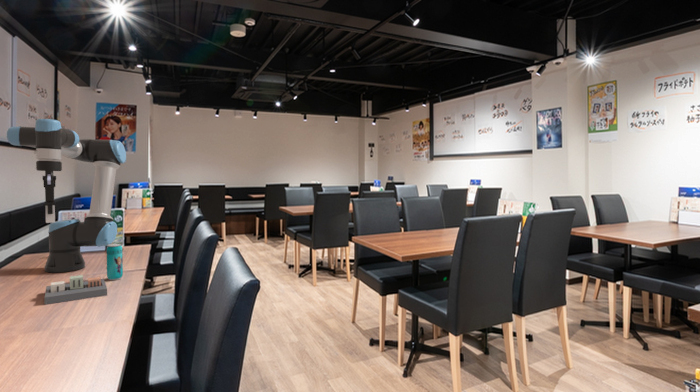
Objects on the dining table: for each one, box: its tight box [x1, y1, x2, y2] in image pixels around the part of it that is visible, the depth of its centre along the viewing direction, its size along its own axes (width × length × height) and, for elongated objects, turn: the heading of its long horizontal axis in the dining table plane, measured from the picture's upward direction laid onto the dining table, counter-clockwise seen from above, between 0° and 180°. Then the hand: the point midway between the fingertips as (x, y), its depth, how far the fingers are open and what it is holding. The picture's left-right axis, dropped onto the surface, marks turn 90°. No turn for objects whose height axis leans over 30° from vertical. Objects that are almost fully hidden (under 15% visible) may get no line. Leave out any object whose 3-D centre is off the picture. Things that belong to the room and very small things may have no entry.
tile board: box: [43, 278, 108, 305], centre depth 138 cm, size 16×18×2 cm
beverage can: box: [106, 243, 124, 282], centre depth 158 cm, size 6×6×15 cm
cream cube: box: [50, 280, 66, 293], centre depth 135 cm, size 4×4×4 cm
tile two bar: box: [69, 274, 84, 290], centre depth 138 cm, size 4×4×4 cm
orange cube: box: [87, 276, 102, 288], centre depth 141 cm, size 4×4×4 cm
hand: (50, 222), depth 141 cm, fingers closed
